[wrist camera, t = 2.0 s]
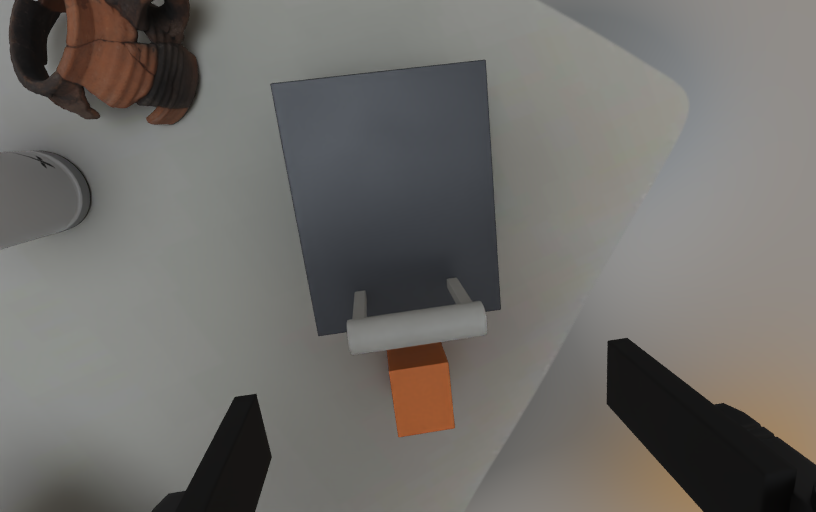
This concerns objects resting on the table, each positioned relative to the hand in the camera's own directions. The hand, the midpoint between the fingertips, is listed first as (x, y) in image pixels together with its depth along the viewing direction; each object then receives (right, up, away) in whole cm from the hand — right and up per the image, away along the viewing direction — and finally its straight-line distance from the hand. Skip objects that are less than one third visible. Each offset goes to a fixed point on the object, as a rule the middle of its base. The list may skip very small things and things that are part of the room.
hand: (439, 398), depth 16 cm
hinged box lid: (-2, +9, +11) cm, 14 cm away
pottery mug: (-21, +20, +16) cm, 33 cm away
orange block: (-1, -4, +24) cm, 25 cm away
